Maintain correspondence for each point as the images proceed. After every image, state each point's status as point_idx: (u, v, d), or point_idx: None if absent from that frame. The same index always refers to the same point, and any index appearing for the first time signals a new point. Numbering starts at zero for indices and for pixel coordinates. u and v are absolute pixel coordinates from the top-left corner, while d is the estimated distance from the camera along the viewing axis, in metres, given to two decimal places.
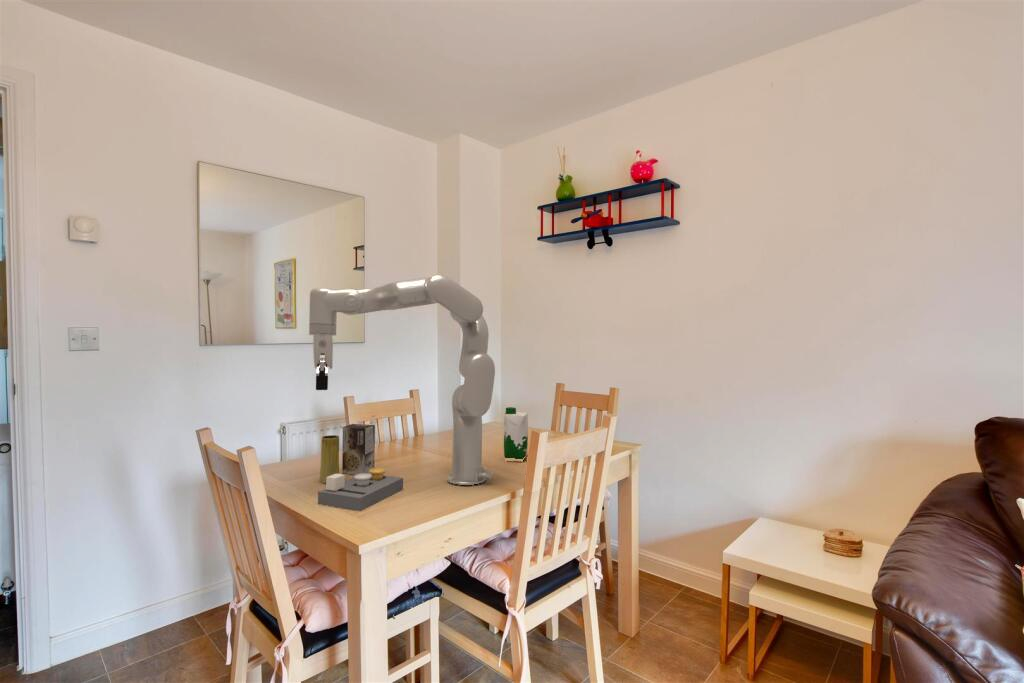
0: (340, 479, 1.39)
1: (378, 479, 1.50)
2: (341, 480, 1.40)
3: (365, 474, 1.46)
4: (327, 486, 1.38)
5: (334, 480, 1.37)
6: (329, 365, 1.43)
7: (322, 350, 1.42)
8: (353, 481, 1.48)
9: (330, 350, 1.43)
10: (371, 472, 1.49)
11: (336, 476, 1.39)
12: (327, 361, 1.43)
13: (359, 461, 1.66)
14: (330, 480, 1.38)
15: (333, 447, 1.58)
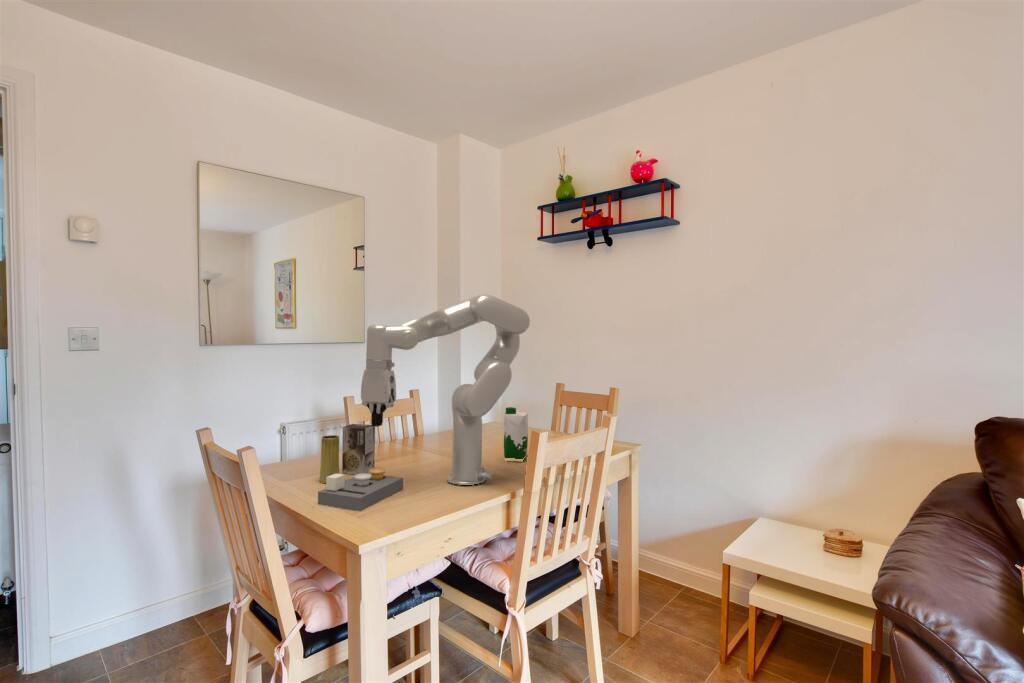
0: (340, 479, 1.39)
1: (378, 479, 1.50)
2: (341, 480, 1.40)
3: (365, 474, 1.46)
4: (327, 486, 1.38)
5: (334, 480, 1.37)
6: (395, 399, 1.51)
7: (392, 385, 1.50)
8: (353, 481, 1.48)
9: (395, 384, 1.52)
10: (371, 472, 1.49)
11: (336, 476, 1.39)
12: (394, 395, 1.51)
13: (359, 461, 1.66)
14: (330, 480, 1.38)
15: (333, 447, 1.58)
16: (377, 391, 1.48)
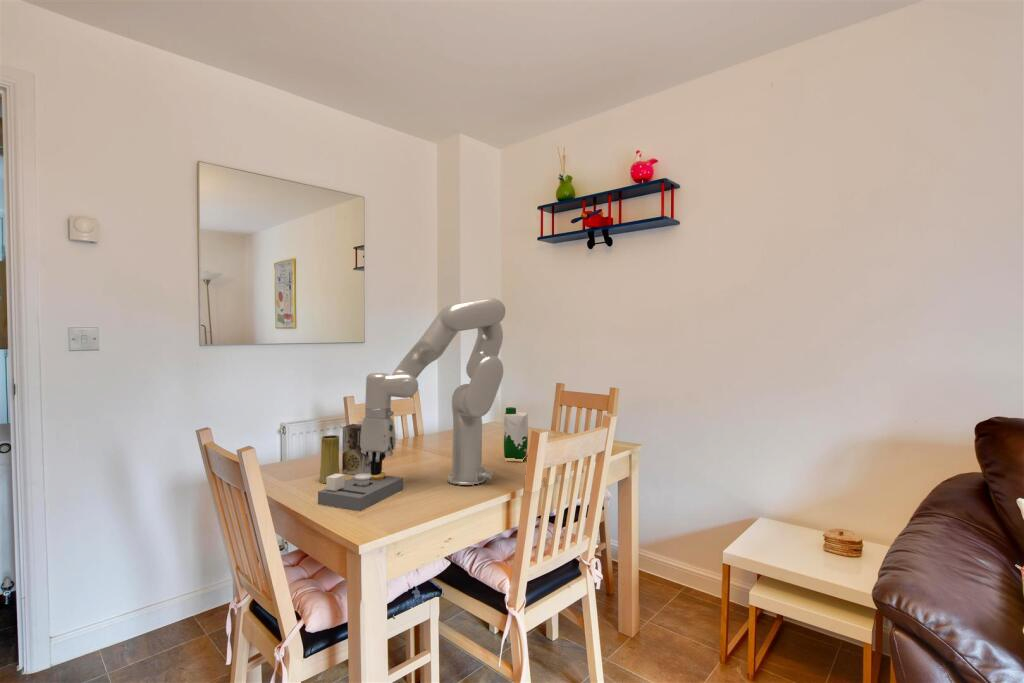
0: (340, 479, 1.39)
1: None
2: (341, 480, 1.40)
3: (365, 474, 1.46)
4: (327, 486, 1.38)
5: (334, 480, 1.37)
6: (394, 447, 1.51)
7: (391, 433, 1.50)
8: (353, 481, 1.48)
9: (394, 432, 1.52)
10: (371, 476, 1.49)
11: (336, 476, 1.39)
12: (393, 443, 1.51)
13: (359, 461, 1.66)
14: (330, 480, 1.38)
15: (333, 447, 1.58)
16: (376, 440, 1.49)
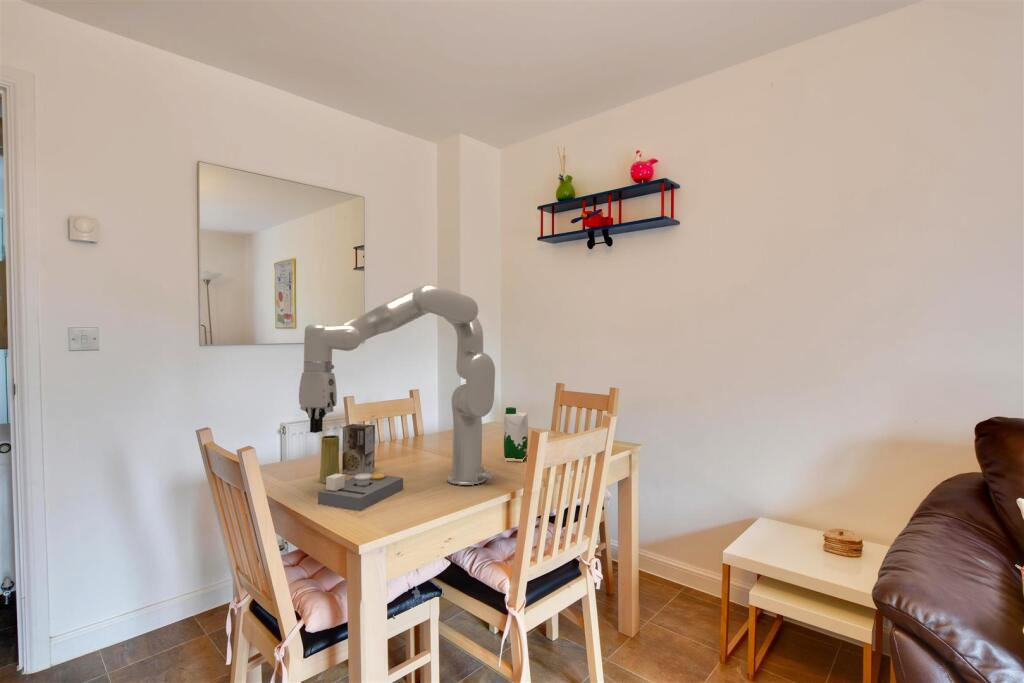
0: (340, 479, 1.39)
1: None
2: (341, 480, 1.40)
3: (365, 474, 1.46)
4: (327, 486, 1.38)
5: (334, 480, 1.37)
6: (335, 403, 1.42)
7: (331, 388, 1.40)
8: (353, 481, 1.48)
9: None
10: (371, 477, 1.49)
11: (336, 476, 1.39)
12: (334, 399, 1.42)
13: (359, 461, 1.66)
14: (330, 480, 1.38)
15: (333, 447, 1.58)
16: (315, 394, 1.39)
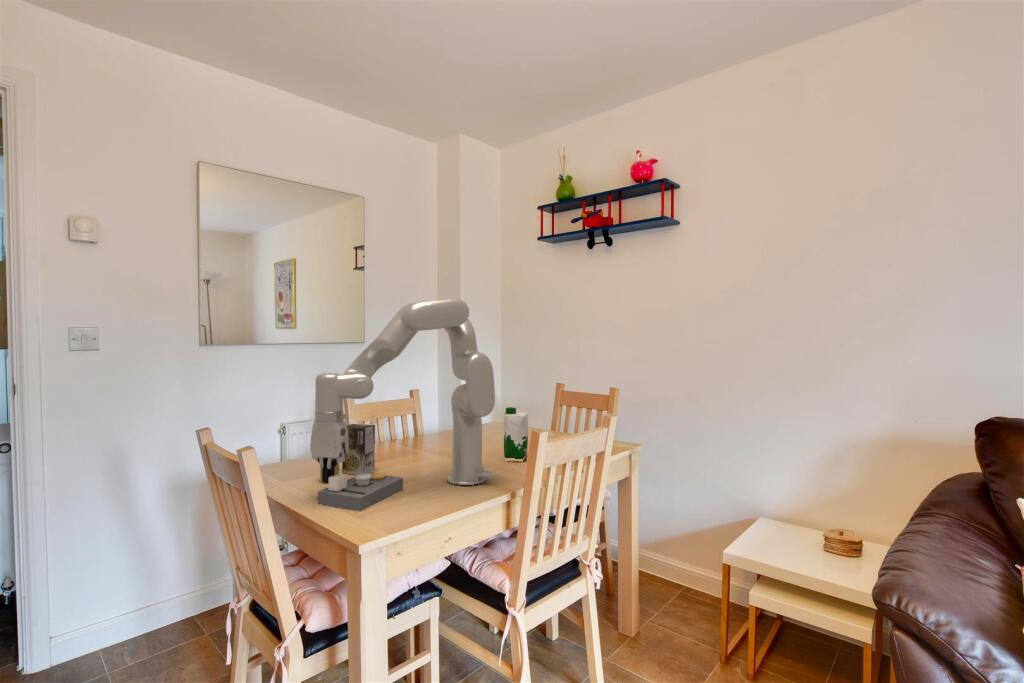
0: (342, 480, 1.39)
1: None
2: (343, 480, 1.40)
3: (365, 474, 1.46)
4: (329, 486, 1.38)
5: (336, 480, 1.37)
6: (347, 452, 1.41)
7: (343, 438, 1.39)
8: (353, 481, 1.48)
9: (347, 437, 1.41)
10: (371, 477, 1.49)
11: (338, 476, 1.39)
12: (346, 449, 1.40)
13: (359, 461, 1.66)
14: (332, 480, 1.38)
15: None
16: (327, 445, 1.38)
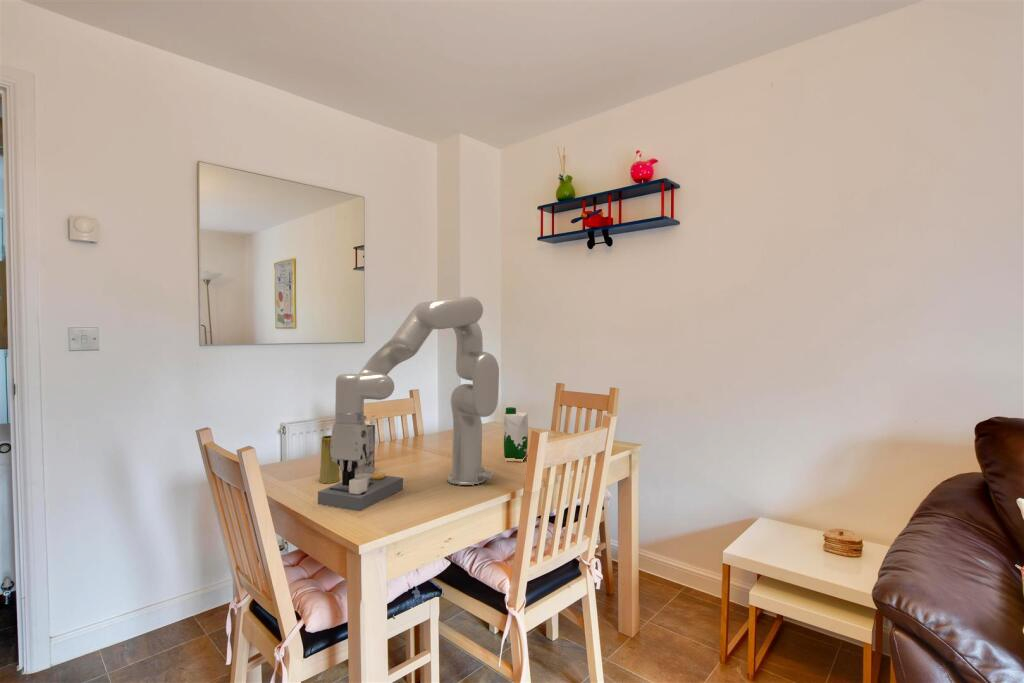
0: (363, 483, 1.37)
1: None
2: (364, 483, 1.37)
3: (365, 474, 1.46)
4: (350, 489, 1.36)
5: (357, 483, 1.35)
6: (368, 454, 1.38)
7: (364, 440, 1.36)
8: None
9: (368, 439, 1.39)
10: (371, 477, 1.49)
11: (359, 479, 1.36)
12: (367, 451, 1.38)
13: None
14: (353, 483, 1.35)
15: None
16: (348, 447, 1.35)
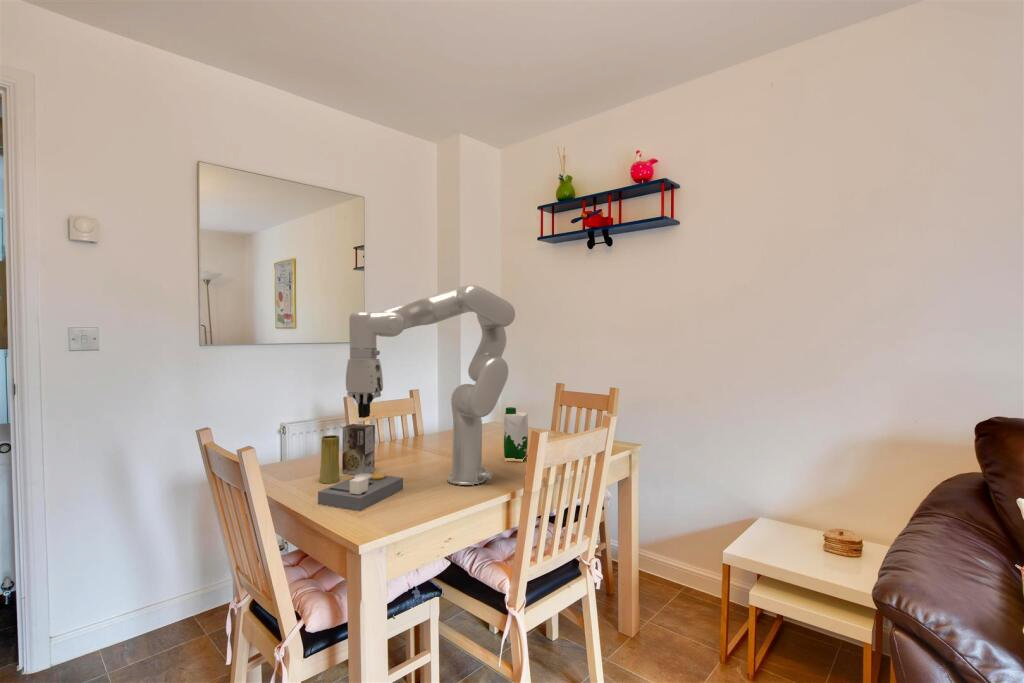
0: (363, 483, 1.37)
1: None
2: (364, 483, 1.37)
3: (365, 474, 1.46)
4: (350, 489, 1.36)
5: (358, 483, 1.35)
6: (382, 388, 1.45)
7: (378, 374, 1.43)
8: None
9: None
10: (371, 477, 1.49)
11: (359, 479, 1.36)
12: (381, 384, 1.45)
13: (359, 461, 1.66)
14: (353, 484, 1.35)
15: (333, 447, 1.58)
16: (363, 380, 1.42)
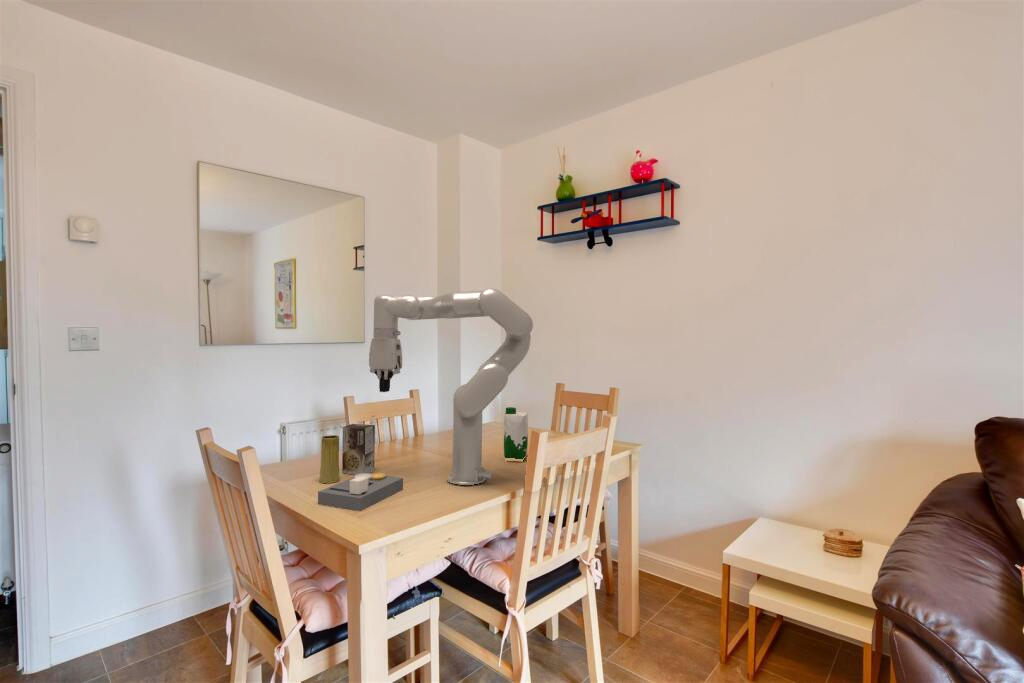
0: (363, 483, 1.37)
1: None
2: (364, 483, 1.37)
3: (365, 474, 1.46)
4: (350, 489, 1.36)
5: (358, 483, 1.35)
6: (401, 366, 1.59)
7: (398, 352, 1.58)
8: None
9: (401, 352, 1.60)
10: (371, 477, 1.49)
11: (359, 479, 1.36)
12: (401, 362, 1.59)
13: (359, 461, 1.66)
14: (353, 484, 1.35)
15: (333, 447, 1.58)
16: (384, 358, 1.57)
